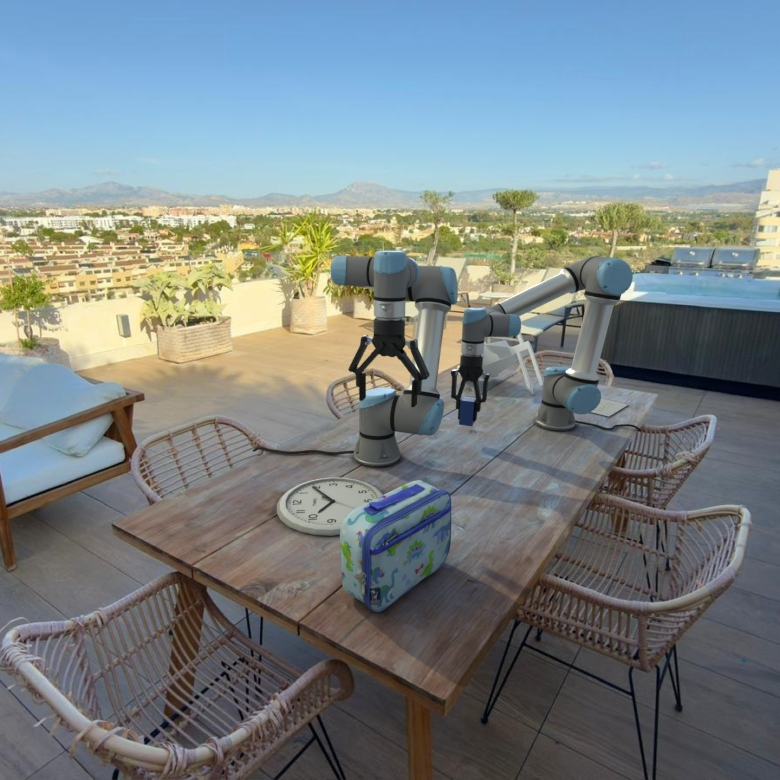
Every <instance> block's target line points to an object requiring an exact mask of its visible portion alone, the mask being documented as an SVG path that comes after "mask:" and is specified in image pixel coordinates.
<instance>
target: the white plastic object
mask: <svg viewBox="0 0 780 780" xmlns="http://www.w3.org/2000/svg"><path fill="white" fill-rule="evenodd" d="M521 331H522V330H521ZM521 331H520V333H519V335H517V336H516V337H517V340H518V342H519V344H516V345H514V346H512V345H510V344H509V343H508V341H507V340H506V339H503V340H499V341H493V342H490V343H487V342H486V341H485V340H484V351H483V354H482V356H483V363H482V369H483V372H485V373H487V374H488V373H490V378H489V380H492V379H496V378H497V377H498V378H499V377H500V374H502V372H504V371H506V370H507V369H508V368H510V367H511V366H512V365H514V364H515V363H517V362H519V366H520V369H521V373H522V376H523V378H524V382H525V386H526V388H527V389H528V390H529V392H530V393H531V394H532V395H534V388H533V385H532V382H531V379H530V376H529V373H528V370H527V366H526V363H525V360H524V358H525V357H527V356H529V357H530V359H531V360H530V361H531V362H532V365H533V369H534V372H535V375H536V379H537V381H538V384H539V387H540V389H541V390H542V391H543V382H544V378H543V375H542V373H541V369H540V367H539V364H538V361H537V358H536V355H535V352H534V349H533V346H532V344H531V342H530V341H529V340H526V341H525V340H524V337H523V335H522V332H521ZM459 367H460V364H459V365H457V366H456V368H457V369H459ZM457 369H456V370H457ZM458 376H459V377H460V379H461V380H462V376H461V375H460V373H459V372H458ZM480 379H483V375H481V376H480V377H479V378H478V380H480ZM483 380H484V379H483Z"/></svg>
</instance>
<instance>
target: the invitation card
mask: <svg viewBox="0 0 780 780" xmlns="http://www.w3.org/2000/svg"><path fill="white" fill-rule="evenodd" d="M628 406H629V404H627V403H623V402H618V401H614V400H609V399H605V398H601V400H600V403H599V405H598V406H597V407H596V408H595V409H594V410H592V411H591V412H590V413H593V414H596V415H600V416H604V417H608V418H609V417H611V416H613V415H614V414H616V413H617V412H619V411H621V410H623V409H624V408H626V407H628Z"/></svg>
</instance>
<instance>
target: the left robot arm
mask: <svg viewBox="0 0 780 780" xmlns="http://www.w3.org/2000/svg"><path fill="white" fill-rule="evenodd" d="M329 271H330V272H329V273H330V279H331V281H332V282H333V284H334V285H337V286H343V287H355V288H362V289H368V290H371V291H373V316H374V317H375V318H374V319H373V329H372V330H373V336H369V335H368V334H365V335H363V336H361V337H360V341H359V347H358V348H357V351H356V353H355V355H354V357H353V359H352V361H351V362H350V365H349V367H348V368H347V369H348V372H351V373H354V374H355V386H356V388H358V401H359V404H358V438H357V440H356V443H355V447H354V449H353V450H342V451H341V450H340V451H327V450H322V449H304V450H293V451H292V450H281V449H273V448H268V447H265V446H256V447H254V448H253V449H252V452H256V451H258V450H261V451H264V452H267V453H268V452H269V453H277V454H283V455H301V454H322V455H330V456H336V455H337V456H338V455H350V454H353V460H354V461H355V462H356V463H358V464H359V465H361V466H364V467H370V468H385V467H389V466H393V465H394V464H396V463H398V462H399V460H400V459H401V453H400V448H399V445H398V442H397V439H396V432H397V433H404V434H411V435H417V436H429V437H431V436H434V435H436V433H437V432H438V430H439V428H440V425H441V424H442V420H443V416H444V412H445V411H444V410H445V401H444V400H443V399H442V398H441V392H439V391H438V389H437V385H438V384H437V383H438V377H439V369H440V359H441V352H442V344H443V335H444V329H445V327H444V326H445V322H446V315H447V314H448V313H450V312H451V310H452V306H454V305H456V304H457V303H458V297H459V290H458V289H459V288H458V286H459V285H458V277H457V272H456V270H455V269H454V268H453V267H451V266H443V265H419V264H418V263H417V261H416V260H415V259H413V258H411V257H408V256H407V253H406V252H405V251H402V250H377V251H376V252H375V253H374V256H359V255H347V254H345V255H337V256H334V257H333V258H332V260H331V262H330V269H329ZM406 302H414V307H415V309H416V310H417V311H418V315H417V322H416V329H415V336H414V339H406V337H405V335H406V328H405V327H406V320H405V319H404V317H405V316H406ZM370 344H372V345H373V347H374V349H373V350H372V352H371V353H370V354H369V355H368V357H367V358H365V360H364V361H363V362H362V363H361V364H360V362H361V360H362V358H363V356H364V354H365V352H366V350H367V348H368V346H369V345H370ZM406 346H407V348H408V350H410V353H411V355H412V360H411V359H410V357H409V356H408V355H407V352H406V351H405V349H404V348H405V347H406ZM379 355H380V356H381V357H389V358H395V357H396V358H397V359H398V360H399V361H400V362H401V363H402V365H403V366H404V367H405V369H406V370H407V371H408V373H409V374H410V376H409V383H408V385H407V386H406V387H404V388H403V392H402V395H401V394H400V395H399V394H397V391H396V389H395V388H392V387H375V388H371V389H368V390H367V373H365V372H364V371H365V370H366V369H367V368H368V367H369V366H370V365H371V363H372V362H373V361H374V360H375V359H376V358H377V357H378V356H379ZM359 364H360V366H359Z"/></svg>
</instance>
